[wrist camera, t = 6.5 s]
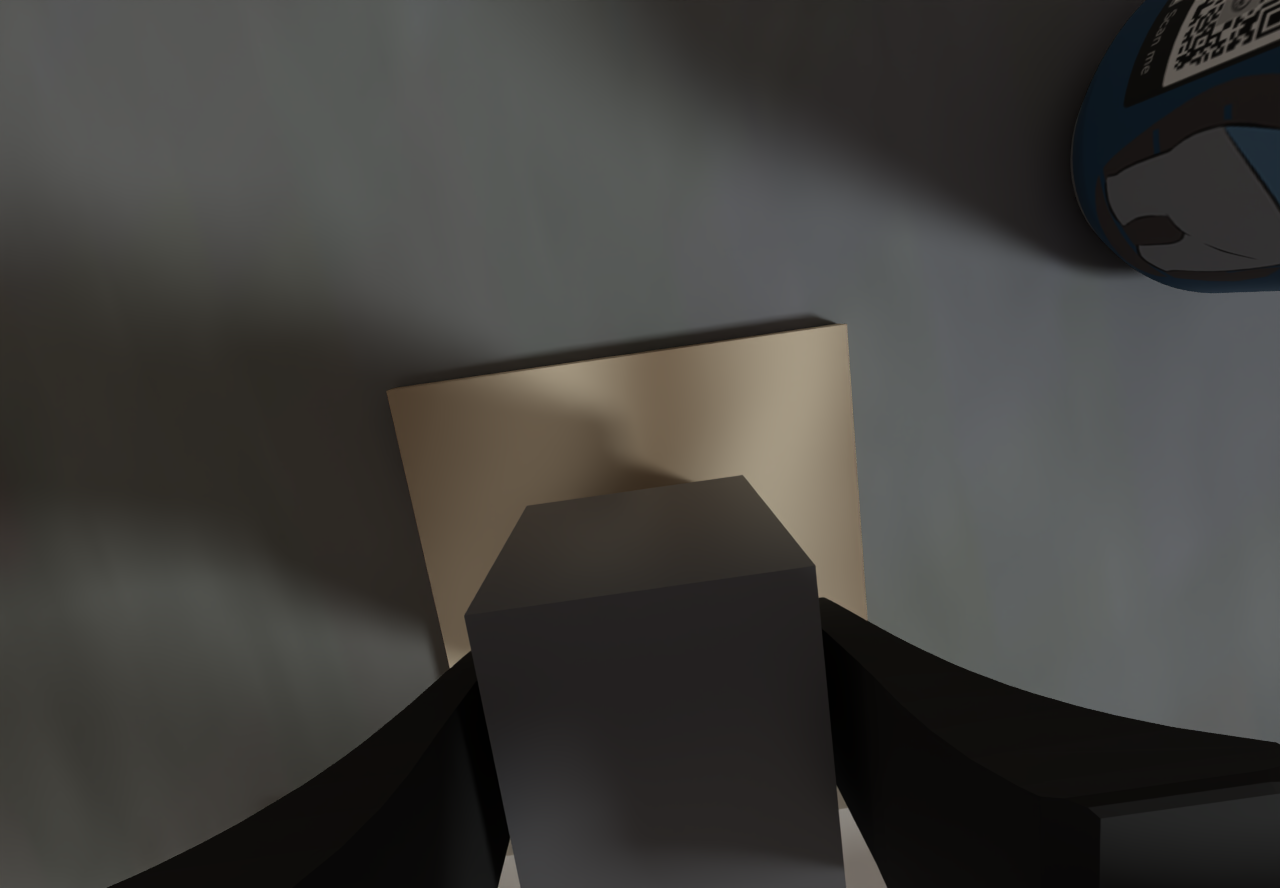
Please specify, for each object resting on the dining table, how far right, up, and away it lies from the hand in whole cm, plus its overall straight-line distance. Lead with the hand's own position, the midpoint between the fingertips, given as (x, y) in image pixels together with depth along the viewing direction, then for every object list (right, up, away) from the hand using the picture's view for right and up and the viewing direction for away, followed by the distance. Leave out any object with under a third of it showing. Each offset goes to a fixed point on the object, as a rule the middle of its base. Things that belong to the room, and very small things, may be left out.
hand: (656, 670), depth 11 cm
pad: (0, +1, +5) cm, 5 cm away
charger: (0, +1, +4) cm, 4 cm away
